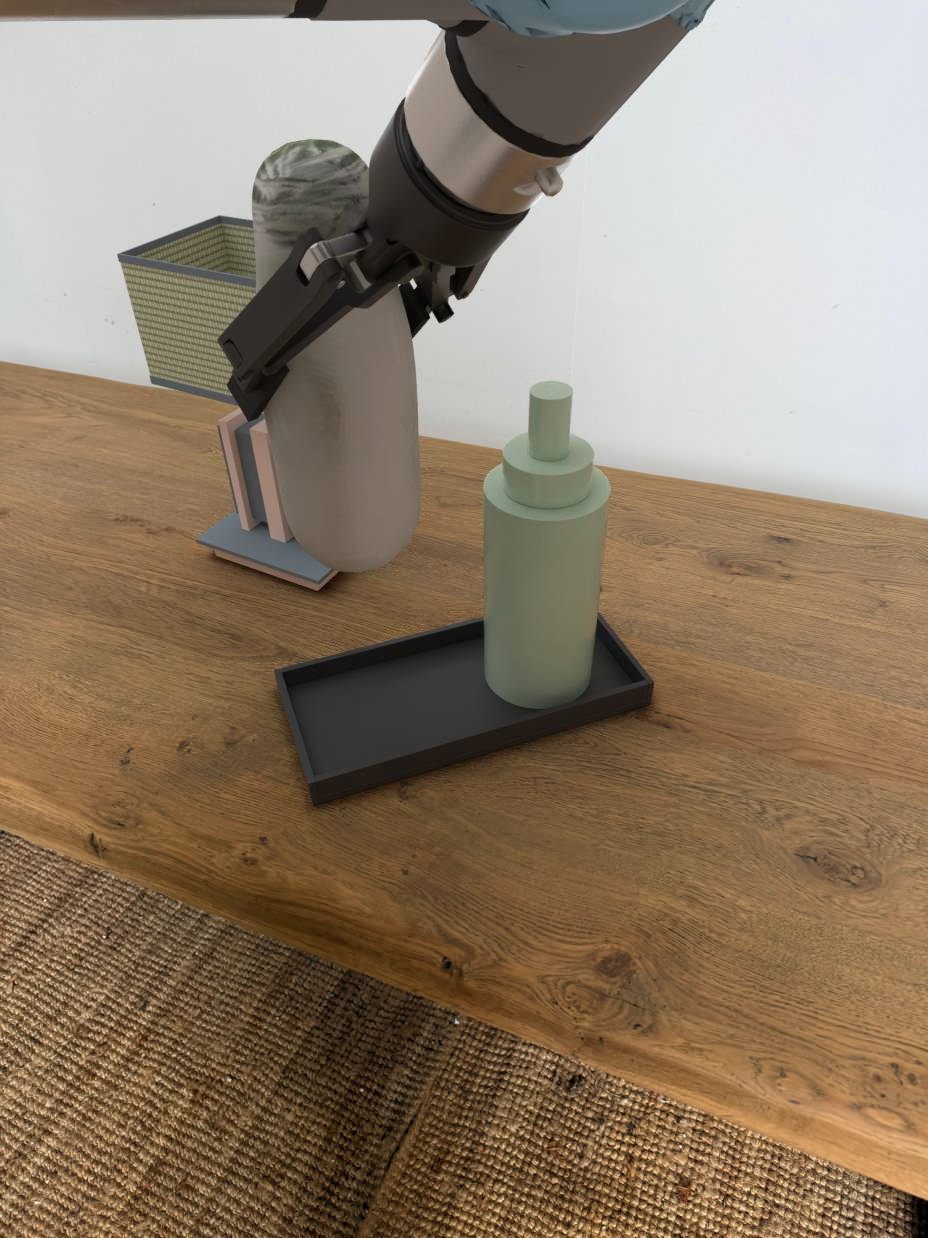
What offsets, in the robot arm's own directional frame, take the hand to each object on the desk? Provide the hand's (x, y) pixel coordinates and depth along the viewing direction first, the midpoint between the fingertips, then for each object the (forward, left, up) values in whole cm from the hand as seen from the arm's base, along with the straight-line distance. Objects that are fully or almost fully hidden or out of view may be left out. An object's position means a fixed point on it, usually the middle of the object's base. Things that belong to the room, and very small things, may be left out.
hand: (312, 374), depth 58 cm
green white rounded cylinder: (+3, -1, -14) cm, 14 cm away
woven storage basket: (-16, +22, -32) cm, 42 cm away
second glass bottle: (+15, +8, -31) cm, 35 cm away
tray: (+9, +3, -32) cm, 33 cm away
